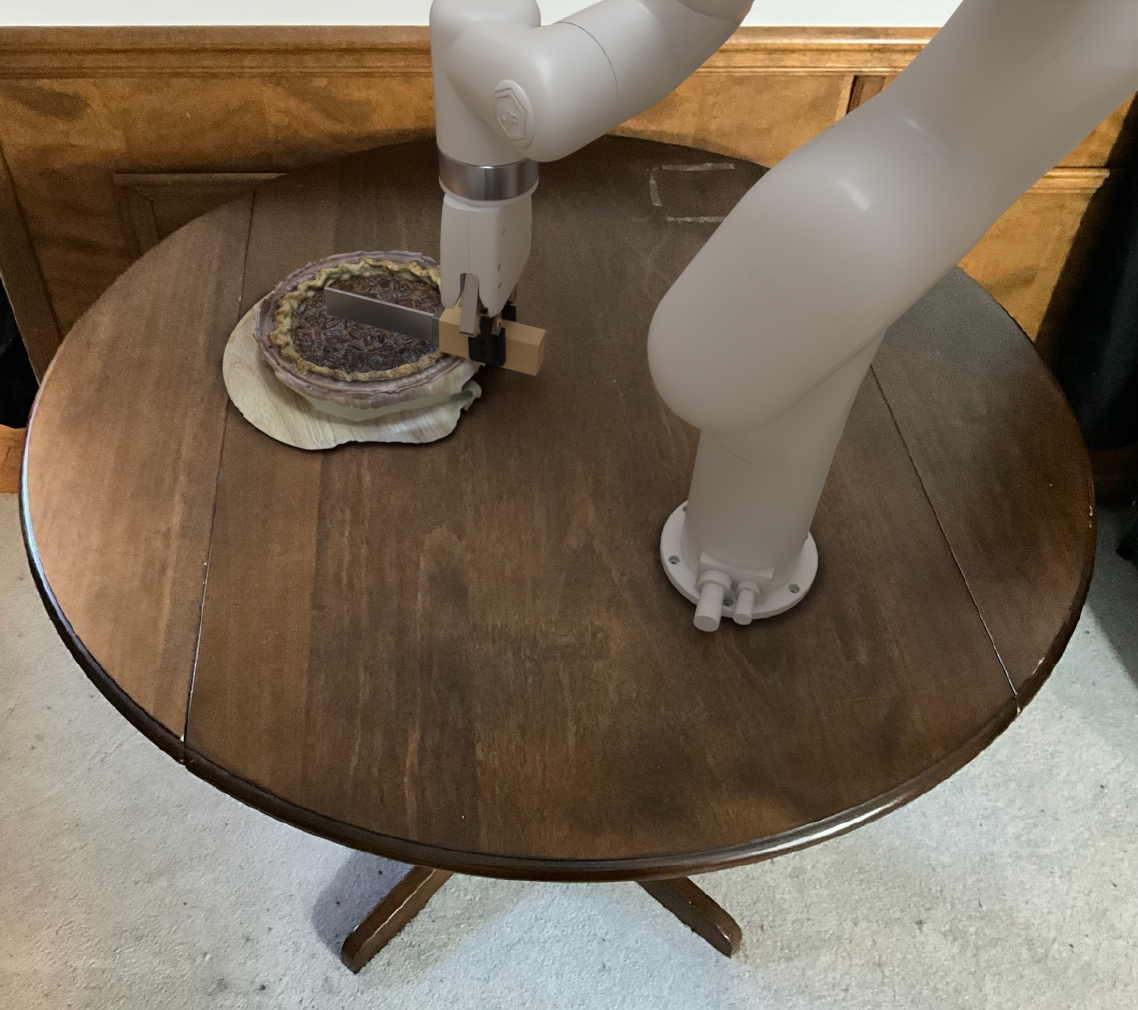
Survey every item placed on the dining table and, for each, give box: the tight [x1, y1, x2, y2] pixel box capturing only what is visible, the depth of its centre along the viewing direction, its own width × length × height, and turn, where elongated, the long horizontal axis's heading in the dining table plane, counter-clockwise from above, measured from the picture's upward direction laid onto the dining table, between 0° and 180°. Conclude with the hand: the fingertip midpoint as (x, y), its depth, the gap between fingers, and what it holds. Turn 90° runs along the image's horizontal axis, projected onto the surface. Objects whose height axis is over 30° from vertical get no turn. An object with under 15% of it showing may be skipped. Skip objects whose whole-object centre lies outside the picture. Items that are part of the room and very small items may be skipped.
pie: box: [222, 249, 519, 450], centre depth 97 cm, size 28×27×5 cm
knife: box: [324, 287, 547, 377], centre depth 91 cm, size 20×2×4 cm, turn 74°
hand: (492, 349), depth 91 cm, fingers closed on knife, 2 cm apart
